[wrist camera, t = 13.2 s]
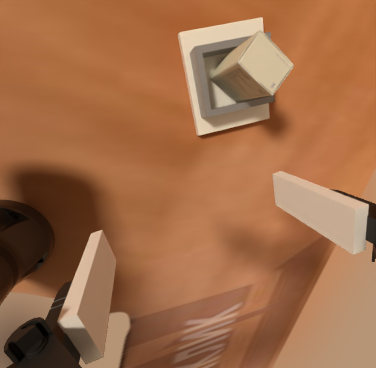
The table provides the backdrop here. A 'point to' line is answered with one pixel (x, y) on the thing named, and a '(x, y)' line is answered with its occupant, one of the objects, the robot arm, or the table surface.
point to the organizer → (203, 69)
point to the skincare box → (252, 69)
